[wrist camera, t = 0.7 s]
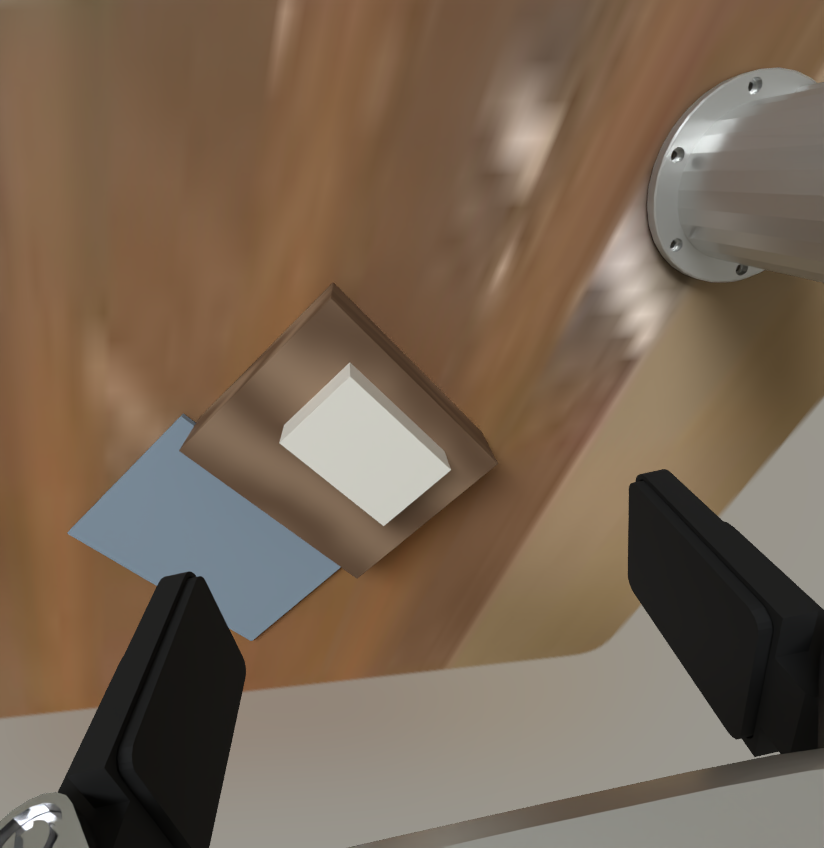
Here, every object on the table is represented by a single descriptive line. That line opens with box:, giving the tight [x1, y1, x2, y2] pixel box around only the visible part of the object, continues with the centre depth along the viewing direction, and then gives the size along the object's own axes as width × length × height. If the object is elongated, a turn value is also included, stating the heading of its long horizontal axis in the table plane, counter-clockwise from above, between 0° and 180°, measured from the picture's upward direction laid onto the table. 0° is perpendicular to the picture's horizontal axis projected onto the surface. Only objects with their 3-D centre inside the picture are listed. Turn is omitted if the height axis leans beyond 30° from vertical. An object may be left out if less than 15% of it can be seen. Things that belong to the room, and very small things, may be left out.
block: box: [279, 363, 451, 526], centre depth 33 cm, size 6×9×2 cm, turn 42°
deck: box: [179, 283, 498, 578], centre depth 37 cm, size 14×16×5 cm
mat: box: [67, 414, 340, 641], centre depth 42 cm, size 14×18×1 cm
